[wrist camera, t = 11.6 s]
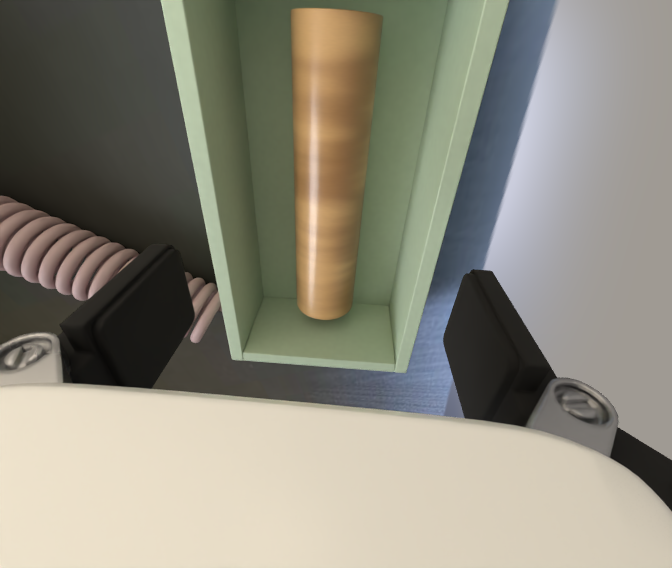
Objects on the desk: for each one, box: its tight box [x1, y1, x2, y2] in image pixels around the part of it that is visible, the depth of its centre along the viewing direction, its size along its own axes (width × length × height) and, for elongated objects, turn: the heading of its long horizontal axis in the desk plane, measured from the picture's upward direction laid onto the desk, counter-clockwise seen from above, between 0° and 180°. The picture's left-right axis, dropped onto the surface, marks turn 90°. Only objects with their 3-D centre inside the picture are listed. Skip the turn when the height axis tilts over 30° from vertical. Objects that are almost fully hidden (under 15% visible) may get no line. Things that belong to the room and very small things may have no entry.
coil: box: [0, 195, 222, 343], centre depth 23 cm, size 5×5×18 cm
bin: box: [161, 0, 509, 373], centre depth 18 cm, size 12×22×7 cm, turn 177°
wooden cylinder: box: [290, 8, 383, 320], centre depth 19 cm, size 16×4×4 cm
